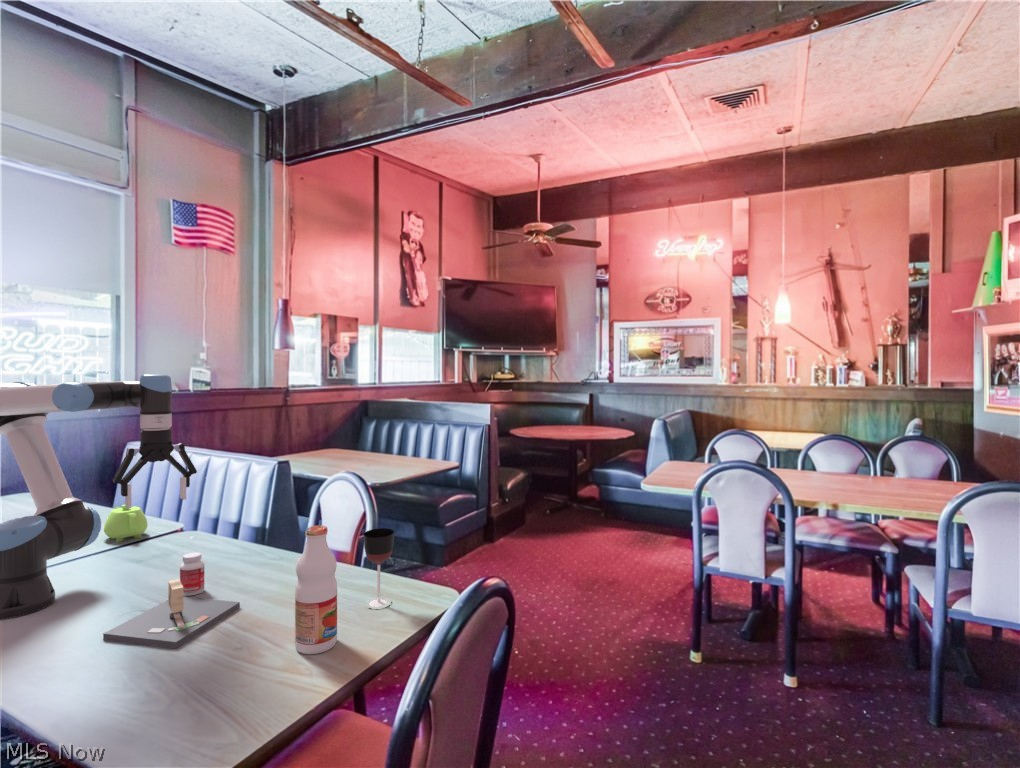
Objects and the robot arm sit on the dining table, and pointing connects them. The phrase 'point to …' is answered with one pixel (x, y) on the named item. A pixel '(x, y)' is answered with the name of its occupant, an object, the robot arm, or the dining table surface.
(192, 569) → the pill bottle
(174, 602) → the beige boxy piece
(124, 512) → the teapot
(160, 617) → the dial board
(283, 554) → the dining table surface
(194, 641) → the dining table surface
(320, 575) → the fruit juice
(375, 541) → the wineglass
